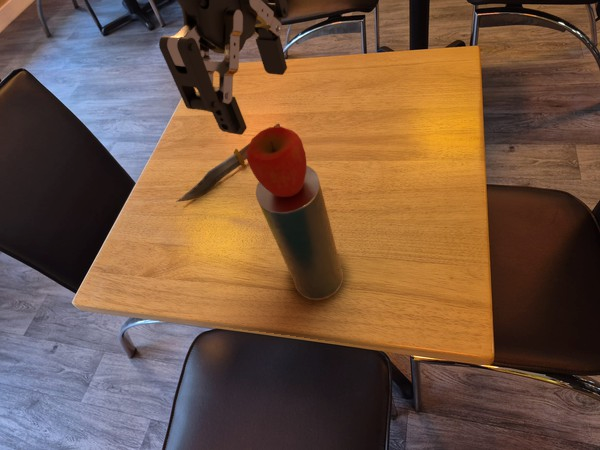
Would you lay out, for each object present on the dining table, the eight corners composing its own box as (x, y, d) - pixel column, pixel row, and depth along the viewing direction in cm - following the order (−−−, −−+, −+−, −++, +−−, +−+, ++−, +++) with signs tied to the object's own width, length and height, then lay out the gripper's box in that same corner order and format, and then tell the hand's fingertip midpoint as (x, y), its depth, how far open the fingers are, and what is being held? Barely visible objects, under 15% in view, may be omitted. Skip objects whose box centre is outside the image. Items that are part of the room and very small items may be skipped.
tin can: (332, 306, 65) (303, 219, 48) (286, 291, 68) (244, 204, 51) (350, 263, 69) (329, 168, 52) (306, 251, 72) (273, 157, 55)
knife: (182, 211, 83) (171, 194, 79) (179, 207, 84) (168, 190, 80) (286, 142, 88) (280, 123, 84) (282, 139, 89) (276, 120, 85)
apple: (255, 178, 53) (236, 132, 47) (303, 160, 53) (289, 111, 47) (269, 215, 49) (249, 170, 43) (320, 195, 49) (307, 148, 43)
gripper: (198, -137, 33) (257, 52, 46) (78, -45, 27) (186, 147, 40) (284, -147, 30) (322, 58, 43) (173, -47, 24) (256, 161, 37)
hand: (257, 100), depth 41 cm, fingers open, 8 cm apart
